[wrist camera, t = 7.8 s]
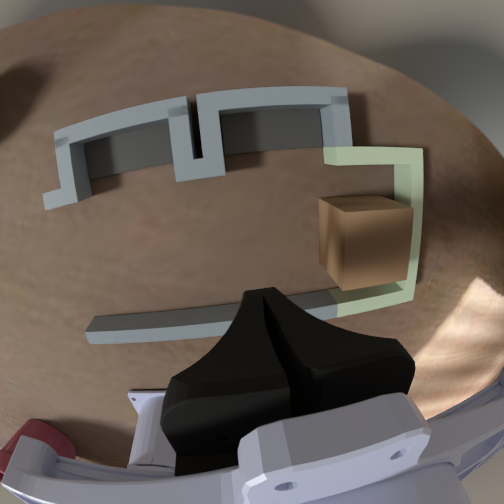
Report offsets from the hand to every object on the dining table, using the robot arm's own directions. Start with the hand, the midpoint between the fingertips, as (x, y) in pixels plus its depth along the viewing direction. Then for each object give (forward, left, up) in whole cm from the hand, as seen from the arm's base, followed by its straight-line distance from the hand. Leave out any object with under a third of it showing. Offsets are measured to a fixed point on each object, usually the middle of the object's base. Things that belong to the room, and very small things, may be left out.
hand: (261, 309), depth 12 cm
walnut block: (0, -8, -10) cm, 12 cm away
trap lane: (+2, 0, -9) cm, 10 cm away
